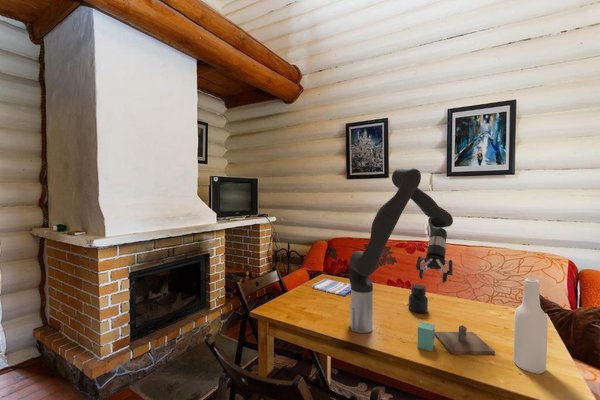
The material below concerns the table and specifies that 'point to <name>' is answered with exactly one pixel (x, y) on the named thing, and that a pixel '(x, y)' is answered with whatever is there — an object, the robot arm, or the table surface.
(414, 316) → the table surface
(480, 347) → the post board
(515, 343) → the alcohol
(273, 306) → the table surface
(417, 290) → the ink bottle
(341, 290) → the dish towel
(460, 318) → the table surface
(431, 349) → the tall teal pillar
